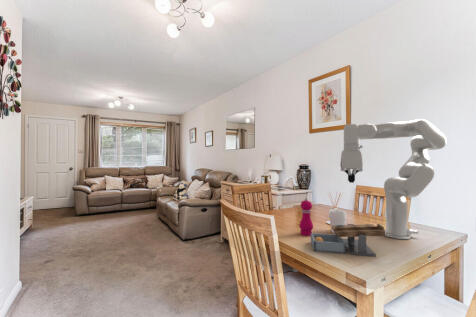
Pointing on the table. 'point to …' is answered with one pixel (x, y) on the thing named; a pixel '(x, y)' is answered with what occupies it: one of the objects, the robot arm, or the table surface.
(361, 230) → the tray
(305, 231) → the pepper mill
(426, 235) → the table surface
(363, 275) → the table surface
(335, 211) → the cup
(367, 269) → the table surface
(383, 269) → the table surface
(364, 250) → the stand
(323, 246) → the bin
